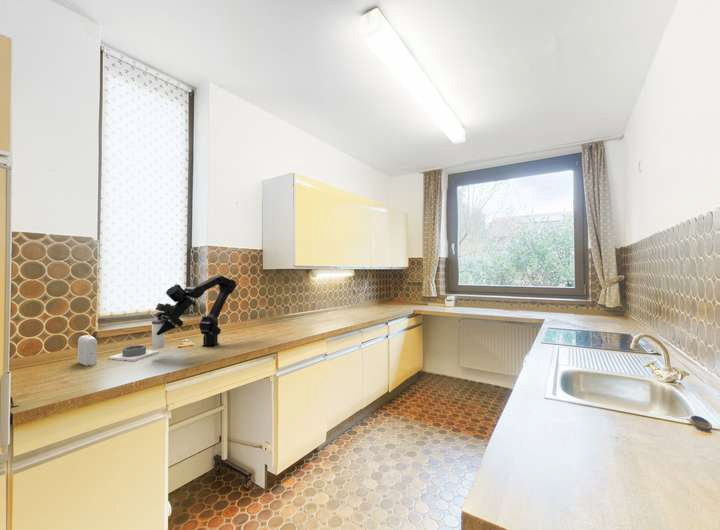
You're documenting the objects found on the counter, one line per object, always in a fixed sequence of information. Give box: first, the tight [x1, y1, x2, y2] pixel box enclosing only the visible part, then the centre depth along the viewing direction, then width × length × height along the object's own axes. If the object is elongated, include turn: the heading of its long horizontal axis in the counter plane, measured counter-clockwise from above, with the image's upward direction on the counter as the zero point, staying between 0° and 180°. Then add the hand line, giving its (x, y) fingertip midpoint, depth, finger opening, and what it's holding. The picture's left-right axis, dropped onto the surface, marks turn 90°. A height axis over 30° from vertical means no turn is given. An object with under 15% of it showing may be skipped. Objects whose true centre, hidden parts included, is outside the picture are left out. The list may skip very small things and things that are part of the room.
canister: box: [151, 319, 166, 350], centre depth 148 cm, size 5×5×12 cm
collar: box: [107, 344, 160, 362], centre depth 152 cm, size 14×14×4 cm
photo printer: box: [77, 334, 98, 367], centre depth 140 cm, size 10×4×12 cm, turn 60°
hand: (154, 333), depth 147 cm, fingers closed on canister, 5 cm apart
